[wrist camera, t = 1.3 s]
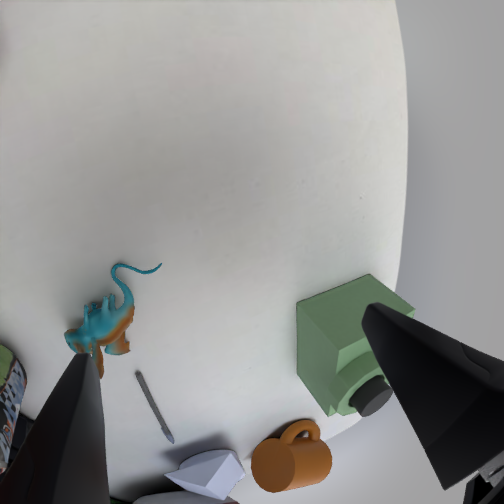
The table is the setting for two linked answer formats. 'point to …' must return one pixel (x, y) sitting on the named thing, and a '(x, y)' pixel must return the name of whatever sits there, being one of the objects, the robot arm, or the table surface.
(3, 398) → the beverage can
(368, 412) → the dark grey round disc
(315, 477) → the mug
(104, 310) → the dragon figurine
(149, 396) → the pen
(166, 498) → the bowl
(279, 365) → the table surface
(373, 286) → the green block with knob
